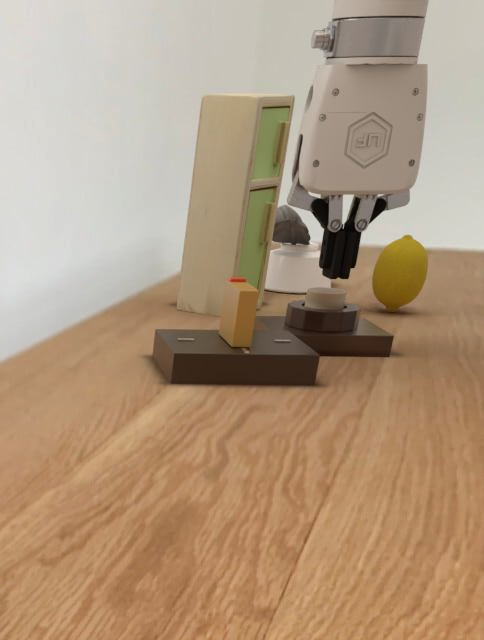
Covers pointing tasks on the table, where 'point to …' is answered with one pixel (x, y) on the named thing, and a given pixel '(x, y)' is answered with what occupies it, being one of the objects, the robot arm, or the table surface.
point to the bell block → (331, 330)
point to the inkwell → (293, 256)
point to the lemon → (400, 273)
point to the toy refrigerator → (233, 195)
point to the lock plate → (234, 358)
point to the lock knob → (238, 312)
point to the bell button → (325, 298)
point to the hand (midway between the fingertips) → (335, 276)
